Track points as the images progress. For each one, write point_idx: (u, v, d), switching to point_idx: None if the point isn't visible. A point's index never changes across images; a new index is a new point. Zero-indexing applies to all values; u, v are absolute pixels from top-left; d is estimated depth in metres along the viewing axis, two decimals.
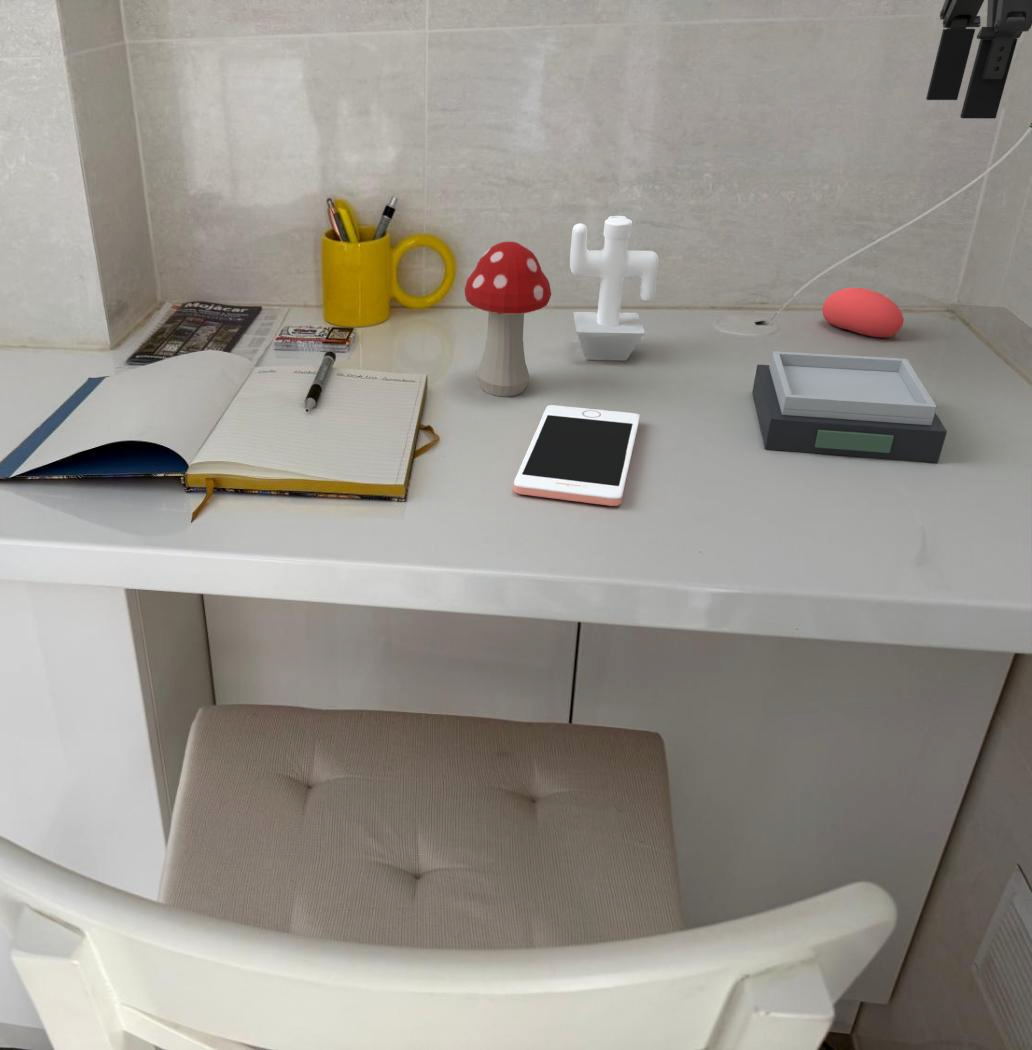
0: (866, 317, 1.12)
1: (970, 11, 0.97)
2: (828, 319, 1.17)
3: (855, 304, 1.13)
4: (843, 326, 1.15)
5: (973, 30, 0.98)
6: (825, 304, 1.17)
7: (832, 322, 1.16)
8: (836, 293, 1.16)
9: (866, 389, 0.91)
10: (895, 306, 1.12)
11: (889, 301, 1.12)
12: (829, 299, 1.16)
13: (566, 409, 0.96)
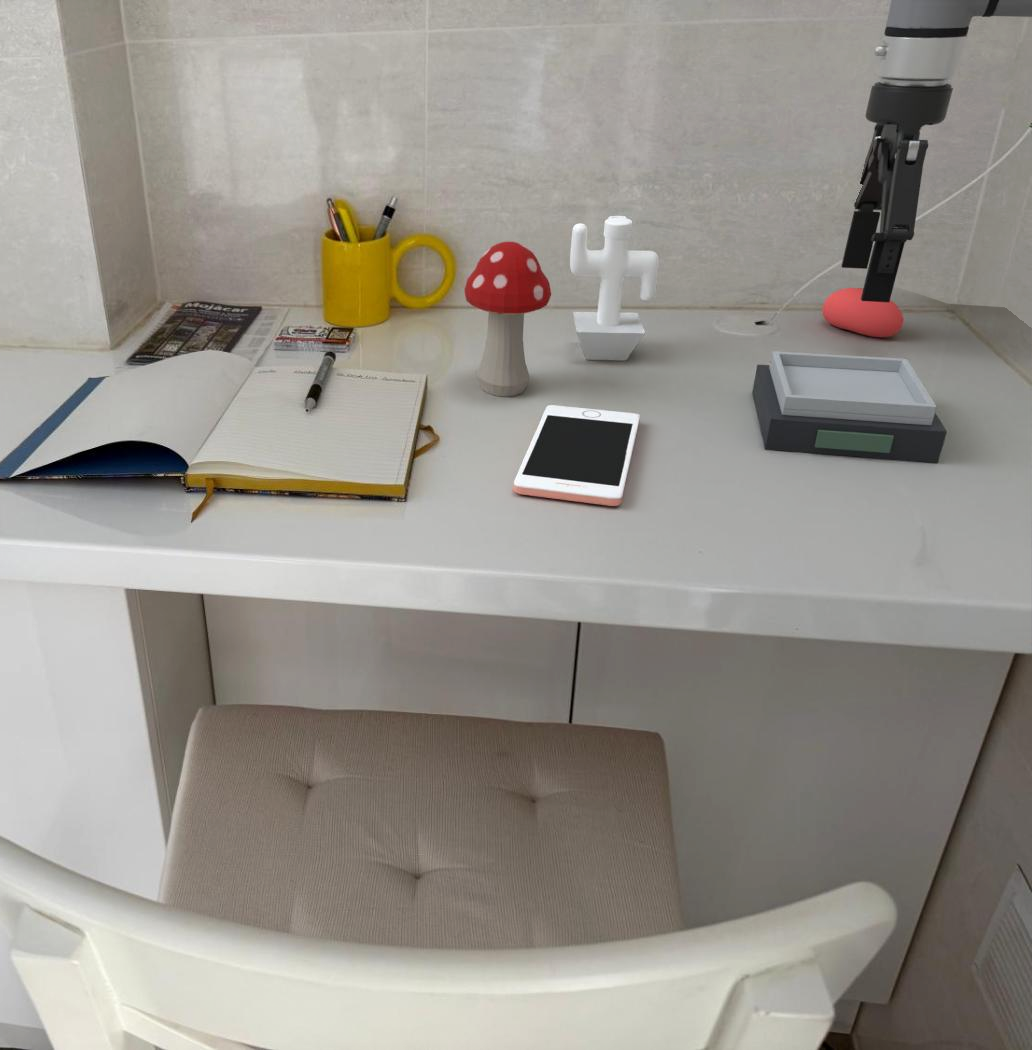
0: (866, 317, 1.12)
1: (875, 199, 1.14)
2: (828, 319, 1.17)
3: (855, 304, 1.13)
4: (843, 326, 1.15)
5: (878, 214, 1.15)
6: (825, 304, 1.17)
7: (832, 322, 1.16)
8: (836, 293, 1.16)
9: (866, 389, 0.91)
10: (895, 306, 1.12)
11: None
12: (829, 299, 1.16)
13: (566, 409, 0.96)
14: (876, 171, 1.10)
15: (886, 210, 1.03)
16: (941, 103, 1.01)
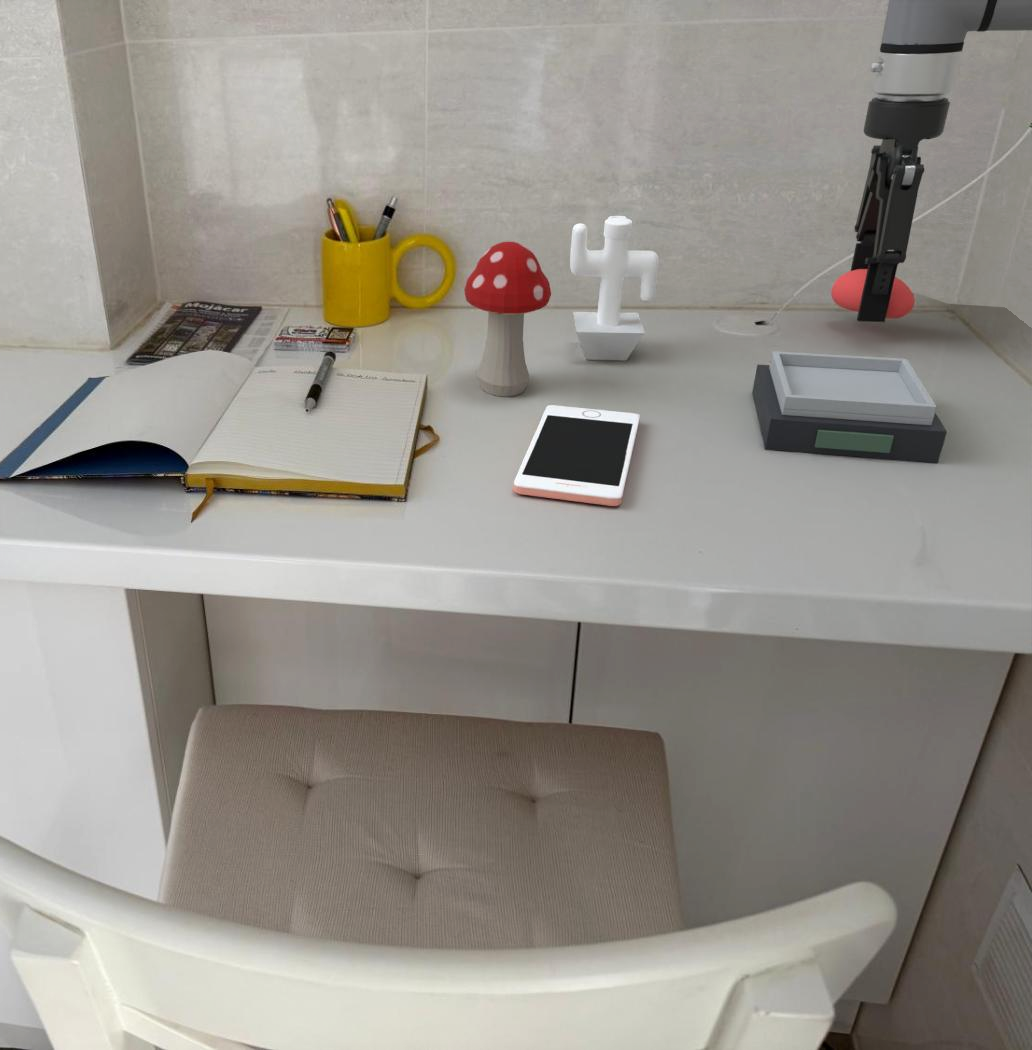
0: None
1: None
2: (837, 301, 1.15)
3: None
4: (853, 308, 1.14)
5: None
6: (834, 286, 1.15)
7: (842, 304, 1.15)
8: (845, 275, 1.14)
9: (866, 389, 0.91)
10: (906, 286, 1.10)
11: (899, 281, 1.10)
12: (838, 281, 1.15)
13: (566, 409, 0.96)
14: None
15: (880, 233, 1.06)
16: (938, 118, 1.01)
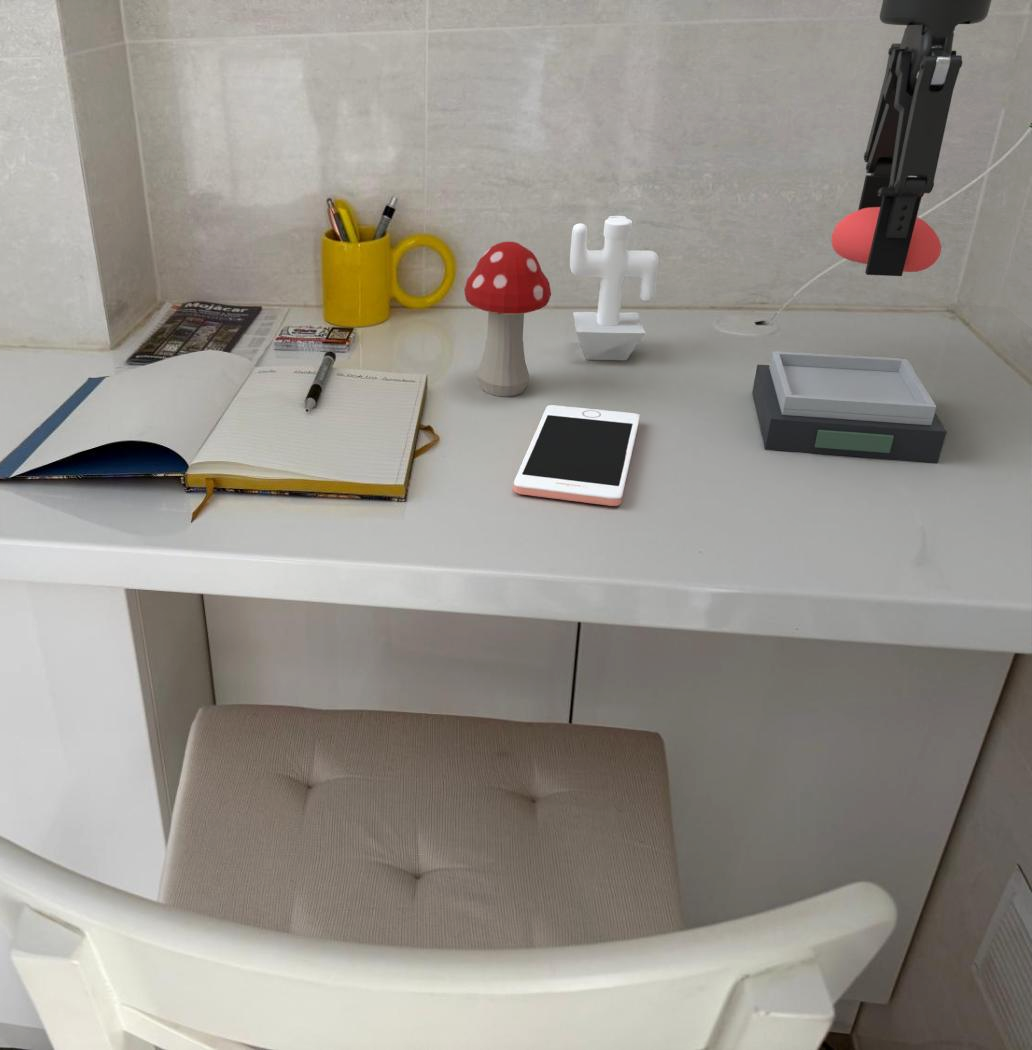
0: None
1: None
2: (839, 250, 0.88)
3: None
4: (860, 258, 0.87)
5: None
6: (835, 231, 0.88)
7: (845, 254, 0.88)
8: (850, 215, 0.87)
9: (866, 389, 0.91)
10: (930, 229, 0.83)
11: (922, 222, 0.83)
12: (841, 224, 0.88)
13: (566, 409, 0.96)
14: (895, 102, 0.83)
15: (899, 154, 0.79)
16: None
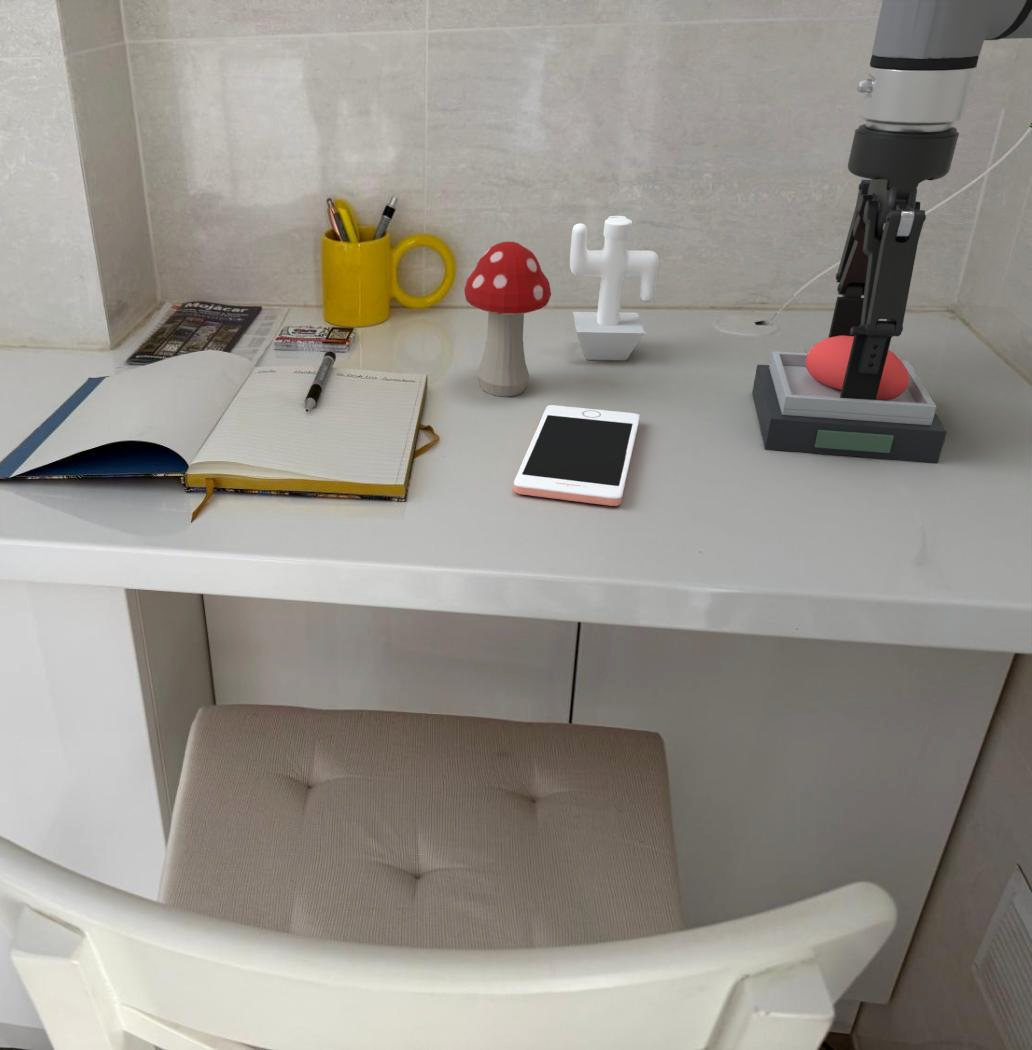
0: None
1: (864, 279, 0.91)
2: (813, 375, 0.92)
3: (847, 358, 0.88)
4: (832, 385, 0.91)
5: None
6: (809, 356, 0.92)
7: (818, 379, 0.92)
8: (823, 342, 0.91)
9: None
10: (898, 361, 0.87)
11: (891, 355, 0.87)
12: (814, 350, 0.92)
13: (566, 409, 0.96)
14: (864, 239, 0.87)
15: (870, 296, 0.82)
16: (944, 153, 0.78)
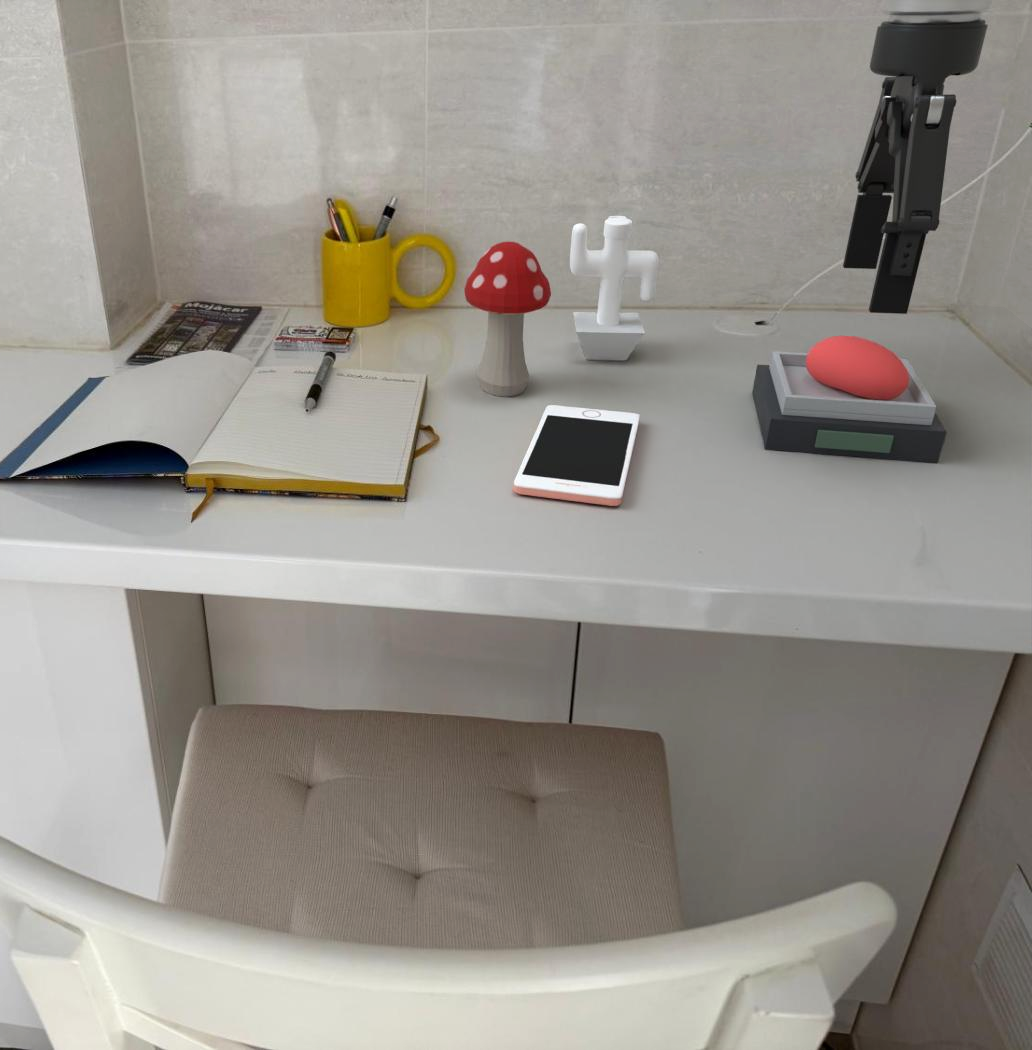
0: (862, 375, 0.87)
1: (885, 178, 0.88)
2: (813, 375, 0.92)
3: (847, 358, 0.88)
4: (832, 385, 0.91)
5: (890, 198, 0.89)
6: (809, 356, 0.92)
7: (818, 379, 0.92)
8: (823, 342, 0.91)
9: None
10: (898, 361, 0.87)
11: (891, 355, 0.87)
12: (814, 350, 0.92)
13: (566, 409, 0.96)
14: (885, 141, 0.84)
15: (900, 191, 0.77)
16: (972, 45, 0.74)
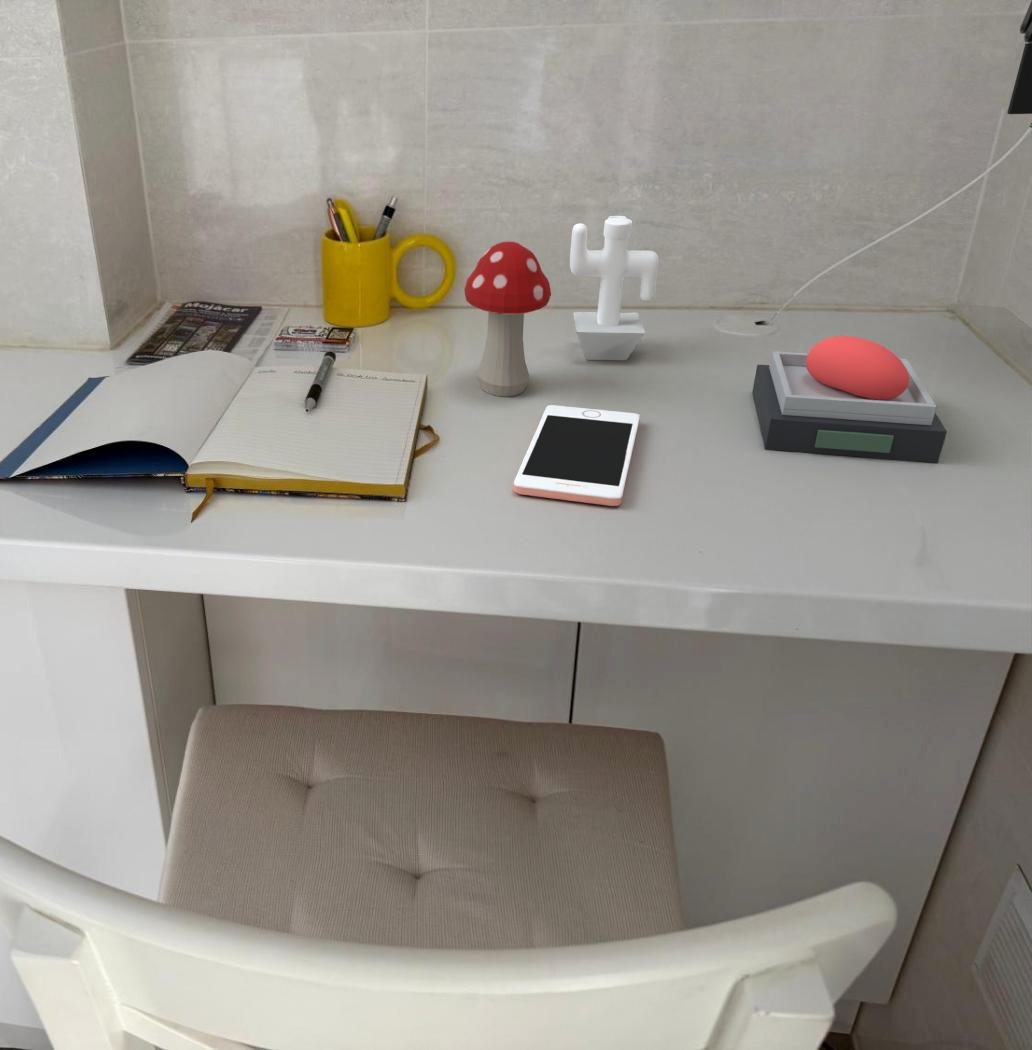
0: (862, 375, 0.87)
1: None
2: (813, 375, 0.92)
3: (847, 358, 0.88)
4: (832, 385, 0.91)
5: None
6: (809, 356, 0.92)
7: (818, 379, 0.92)
8: (823, 342, 0.91)
9: None
10: (899, 361, 0.87)
11: (891, 355, 0.87)
12: (814, 350, 0.92)
13: (566, 409, 0.96)
14: None
15: None
16: None
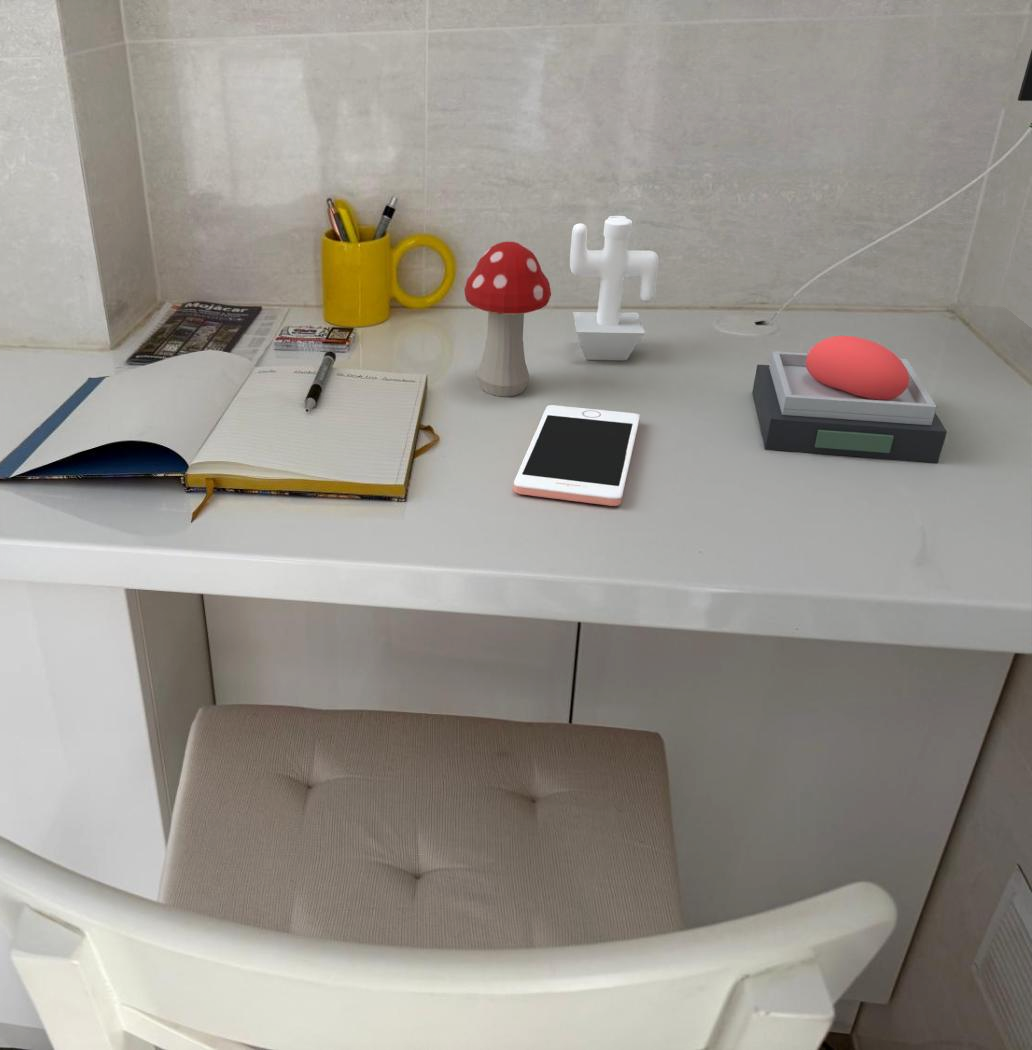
0: (862, 375, 0.87)
1: None
2: (813, 375, 0.92)
3: (847, 358, 0.88)
4: (832, 385, 0.91)
5: None
6: (809, 356, 0.92)
7: (818, 379, 0.92)
8: (823, 342, 0.91)
9: None
10: (898, 361, 0.87)
11: (891, 355, 0.87)
12: (814, 350, 0.92)
13: (566, 409, 0.96)
14: None
15: None
16: None
